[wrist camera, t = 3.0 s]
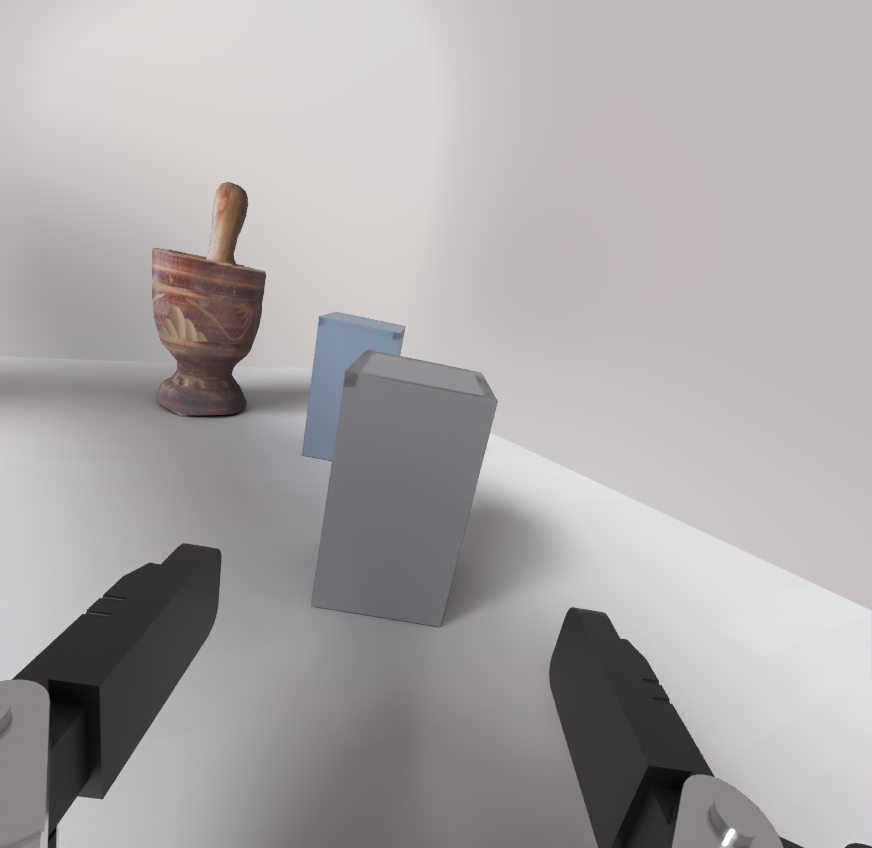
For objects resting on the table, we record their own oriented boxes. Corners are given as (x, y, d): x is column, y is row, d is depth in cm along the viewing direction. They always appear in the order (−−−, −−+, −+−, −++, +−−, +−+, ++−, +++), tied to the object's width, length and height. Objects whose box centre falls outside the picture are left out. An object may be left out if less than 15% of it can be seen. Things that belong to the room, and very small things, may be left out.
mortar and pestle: (148, 380, 45) (150, 161, 39) (239, 384, 50) (254, 191, 44) (151, 419, 36) (155, 143, 30) (262, 420, 41) (284, 183, 35)
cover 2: (311, 606, 20) (345, 371, 17) (338, 534, 26) (367, 349, 23) (440, 627, 20) (497, 401, 17) (438, 552, 26) (481, 372, 23)
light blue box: (302, 455, 35) (319, 316, 32) (320, 431, 41) (336, 311, 38) (376, 468, 36) (400, 333, 32) (384, 443, 41) (405, 326, 38)
